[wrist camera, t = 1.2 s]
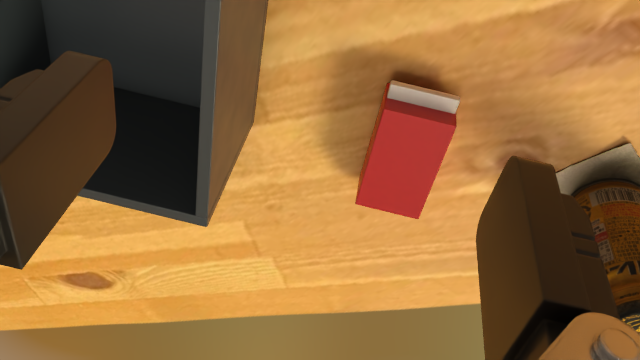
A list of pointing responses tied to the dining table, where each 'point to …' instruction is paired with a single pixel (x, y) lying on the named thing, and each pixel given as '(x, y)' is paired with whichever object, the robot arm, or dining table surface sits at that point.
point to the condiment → (612, 219)
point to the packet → (406, 148)
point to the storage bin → (154, 89)
